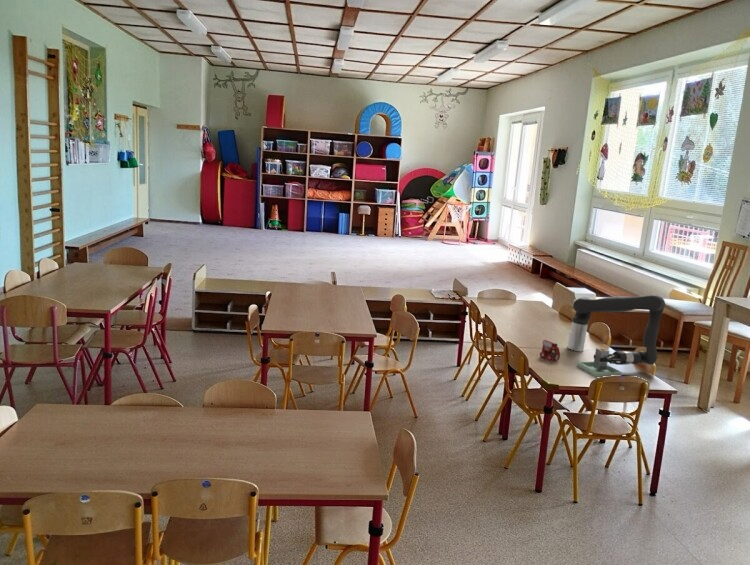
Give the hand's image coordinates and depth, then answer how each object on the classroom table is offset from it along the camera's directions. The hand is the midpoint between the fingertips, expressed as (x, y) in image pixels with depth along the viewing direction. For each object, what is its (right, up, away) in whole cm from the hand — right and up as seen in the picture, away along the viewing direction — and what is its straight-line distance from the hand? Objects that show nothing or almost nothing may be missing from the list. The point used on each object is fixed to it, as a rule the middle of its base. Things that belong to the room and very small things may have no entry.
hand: (597, 358), depth 336 cm
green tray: (+2, -8, +2) cm, 9 cm away
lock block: (+2, -6, +2) cm, 7 cm away
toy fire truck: (-22, -3, +18) cm, 28 cm away
